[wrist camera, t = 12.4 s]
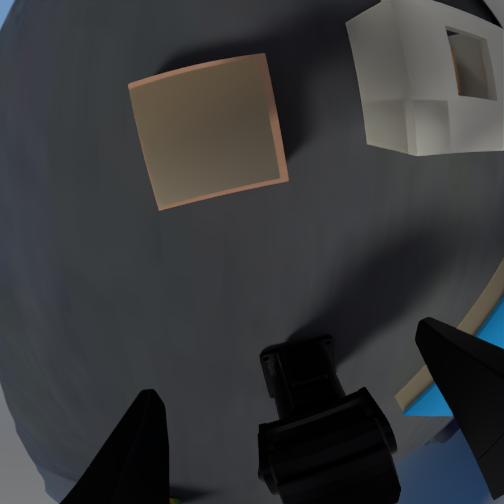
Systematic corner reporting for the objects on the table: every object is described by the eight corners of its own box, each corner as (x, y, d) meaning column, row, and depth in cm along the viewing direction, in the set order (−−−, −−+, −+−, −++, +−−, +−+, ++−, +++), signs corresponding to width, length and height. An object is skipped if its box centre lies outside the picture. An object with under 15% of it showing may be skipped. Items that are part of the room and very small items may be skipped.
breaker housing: (475, 137, 18) (523, 150, 13) (366, 144, 18) (417, 156, 13) (461, 36, 14) (508, 31, 9) (343, 15, 14) (386, -12, 9)
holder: (276, 171, 18) (288, 181, 15) (167, 196, 18) (159, 210, 15) (256, 64, 15) (264, 53, 12) (141, 90, 15) (127, 84, 12)
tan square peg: (235, 142, 17) (280, 178, 6) (193, 152, 17) (159, 207, 6) (227, 102, 16) (256, 58, 5) (183, 112, 16) (129, 89, 5)
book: (402, 416, 28) (533, 252, 20) (389, 392, 32) (509, 236, 24) (453, 416, 34) (549, 297, 25) (442, 399, 37) (533, 283, 29)
